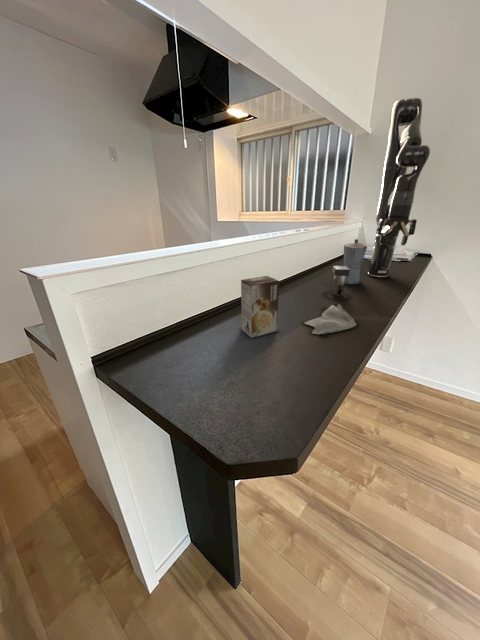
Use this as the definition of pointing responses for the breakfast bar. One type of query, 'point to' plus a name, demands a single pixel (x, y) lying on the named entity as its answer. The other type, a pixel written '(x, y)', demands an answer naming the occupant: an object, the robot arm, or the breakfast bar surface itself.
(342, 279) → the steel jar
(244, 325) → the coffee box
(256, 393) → the breakfast bar surface
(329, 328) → the cloth
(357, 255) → the moka pot
